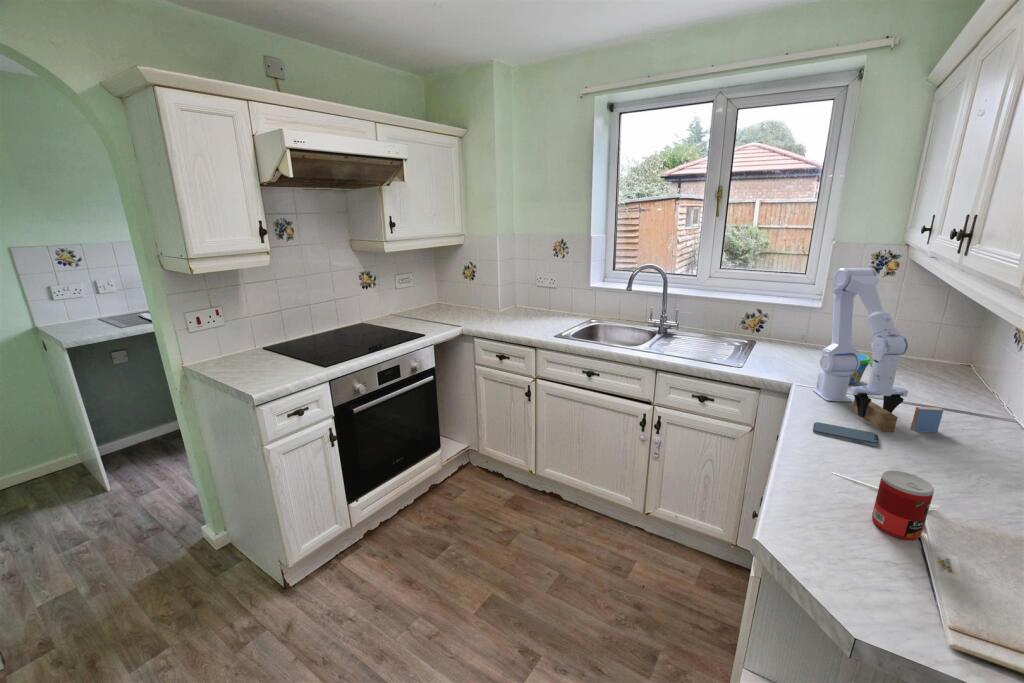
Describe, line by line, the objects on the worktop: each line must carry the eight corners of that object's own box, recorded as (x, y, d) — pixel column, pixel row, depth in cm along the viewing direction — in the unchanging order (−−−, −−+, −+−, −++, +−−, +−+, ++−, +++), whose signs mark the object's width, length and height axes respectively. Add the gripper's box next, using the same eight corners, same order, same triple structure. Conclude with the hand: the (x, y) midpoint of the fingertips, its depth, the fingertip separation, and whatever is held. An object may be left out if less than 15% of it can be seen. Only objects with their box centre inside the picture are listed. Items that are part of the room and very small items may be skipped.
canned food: (914, 547, 87) (928, 498, 84) (864, 524, 94) (876, 478, 91) (925, 530, 92) (939, 483, 89) (878, 510, 98) (889, 465, 95)
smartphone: (814, 420, 137) (877, 432, 129) (813, 426, 138) (876, 437, 129) (812, 430, 131) (878, 443, 123) (812, 435, 132) (877, 449, 123)
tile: (910, 428, 133) (916, 406, 131) (933, 429, 132) (939, 407, 130) (914, 431, 132) (920, 409, 130) (937, 432, 131) (943, 410, 129)
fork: (833, 472, 113) (834, 466, 113) (939, 511, 98) (941, 504, 97) (828, 477, 111) (829, 470, 111) (935, 518, 96) (937, 510, 95)
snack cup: (878, 385, 165) (884, 358, 162) (862, 391, 160) (868, 363, 157) (832, 372, 178) (837, 347, 175) (816, 377, 173) (821, 352, 170)
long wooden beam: (851, 411, 145) (854, 397, 143) (861, 411, 145) (864, 397, 143) (882, 432, 132) (886, 416, 130) (893, 432, 131) (897, 417, 130)
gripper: (864, 378, 131) (854, 421, 135) (919, 380, 129) (908, 423, 133) (849, 370, 138) (841, 411, 141) (902, 371, 136) (892, 413, 140)
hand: (872, 416), depth 138 cm, fingers open, 6 cm apart
